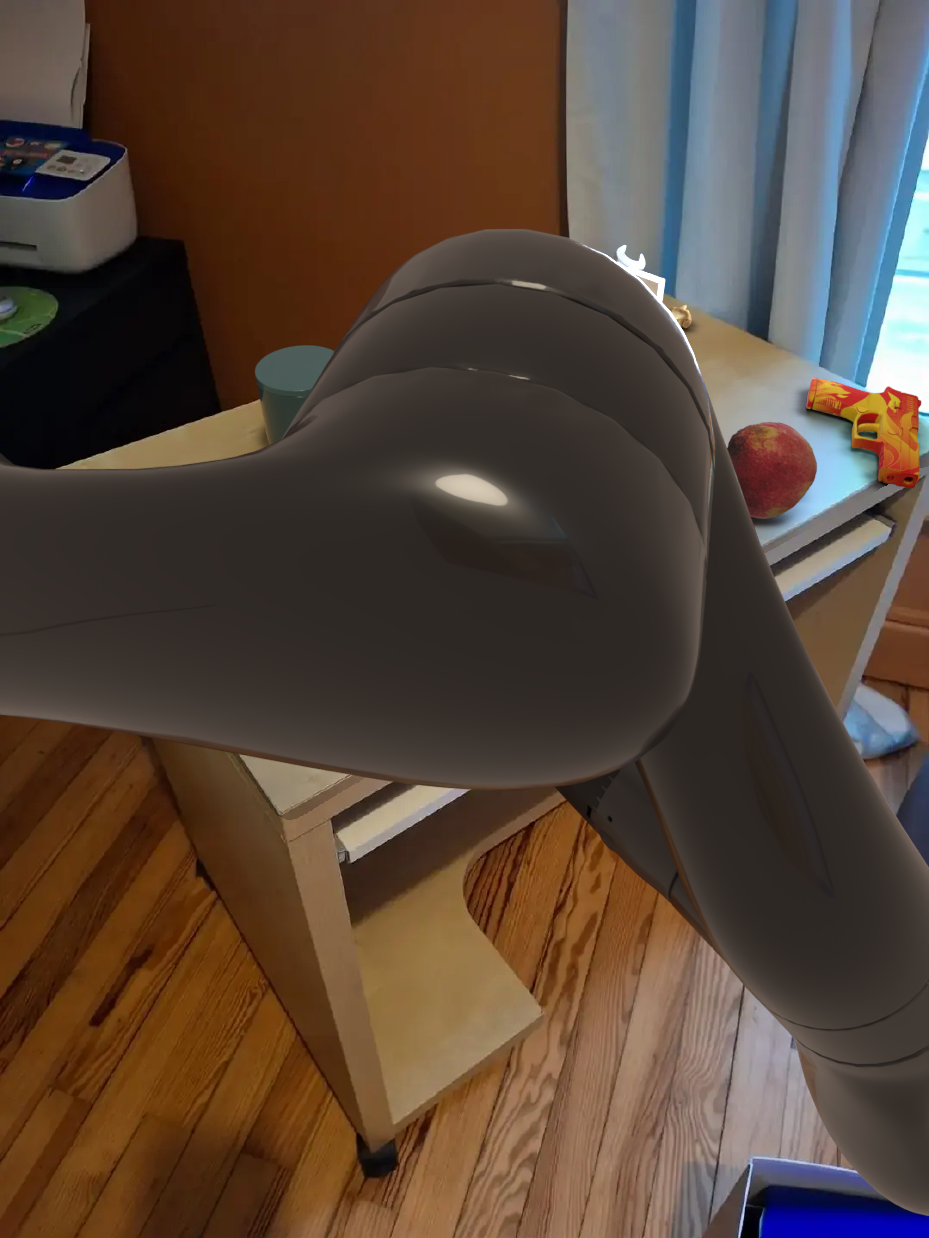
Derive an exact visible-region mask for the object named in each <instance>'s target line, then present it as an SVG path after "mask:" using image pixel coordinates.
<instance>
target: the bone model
mask: <svg viewBox="0 0 929 1238" xmlns="http://www.w3.org/2000/svg"><path fill="white" fill-rule="evenodd" d="M687 308H688V305H687V304H684V305H682V306H681V307H676V306H670V309H668V310H669V311H670V312H671V313H672V315H673V316H674V318H675V320H676V321H677V323H678V324H679V326H680V327H681V328H683V329H687V328H688V327H689V326H691V324H692V315H691V311H690V310H688V309H687Z"/></svg>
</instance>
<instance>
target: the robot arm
mask: <svg viewBox="0 0 929 1238" xmlns="http://www.w3.org/2000/svg"><path fill="white" fill-rule="evenodd" d="M669 310H670V309H669V308H667V306H666V305H665V304H664V303H663V301H662V302H661V301H660V300H659V299H658V298H657V297H656V296H655V295H654V294H653V292H652V291H651V290H650V289H649V288H648V287H647V286H646V285H645V284H644V283H643V282H642V280H640V279H639V278H638V277H636V276H635V275H634V274H632V273H631V272H629V271H628V270H627V269H625V268H624V267H622V266H621V265H620V264H618V263H617V262H615V260H614V258H611V257H610V256H608V255H607V254H605V253H603V252H601V251H599V250H597V249H594V248H593V247H590V246H587V245H585V244H583V243H581V242H578V241H576V240H574V239H572V238H569V237H566V236H561V235H556V234H552V233H548V232H543V231H538V230H535V229H529V228H495V229H494V228H493V229H492V228H491V229H488V228H487V229H485V228H484V229H481V230H476V231H471V232H468V233H467V232H466V233H463V234H459V235H454V236H450V237H447V238H445V239H443V240H441V241H439V242H437V243H435V244H432V245H430V246H429V247H426V248H425V249H423V250H420V251H418V252H417V253H415V254H414V255H413V256H411V257H410V258H408V259H407V260H406V261H405V262H404V261H403V263H402V264H400V265H398V267H397V268H395V269H394V270H393V271H392V272H391V273H390V274H389V275H388V276H387V277H385V279H384V280H383V281H382V282H381V284H380V285H379V286H378V288H376V290H375V291H374V292H373V294H372V295H371V296H370V297H369V299H368V300H367V301H366V302H365V304H364V305H363V306H362V308H361V310H360V311H359V312H358V314H357V316H356V317H355V319H354V320H353V322H352V323H351V325H350V326H349V328H348V329H347V331H346V333H344V335H343V337H342V339H341V340H340V342H339V343H338V345H337V346H336V348H335V349H334V350H333V351H334V353H333V355H332V357H331V358H330V360H329V361H328V363H327V364H326V366H325V368H324V369H323V371H322V373H321V374H320V376H319V378H318V379H317V381H316V383H315V384H314V386H313V388H312V389H311V391H310V393H309V394H308V396H307V398H306V399H305V401H304V403H303V404H302V406H301V408H300V409H299V411H298V413H297V414H296V416H295V418H294V419H293V421H292V423H291V424H290V426H289V428H288V429H287V431H286V433H285V434H284V436H283V438H282V439H281V440H279V441H277V442H275V443H273V444H271V445H270V444H269V445H266V446H264V447H262V448H260V449H256V450H254V451H251V452H250V451H249V452H247V453H243V454H240V455H235V456H232V457H227V458H223V459H222V458H221V459H215V460H207V461H201V462H193V463H186V464H180V465H167V466H157V467H156V466H155V467H143V468H142V467H141V468H50V469H49V468H48V469H47V468H36V467H29V466H21V465H17V464H14V463H13V462H12V461H10V460H9V459H8V458H6V456H5V455H3V454H2V453H1V452H0V715H1V716H8V717H9V716H10V717H17V718H18V717H19V718H24V719H25V718H26V719H34V720H41V721H48V722H57V723H62V724H71V725H77V726H83V727H89V728H92V729H93V728H94V729H100V730H106V731H112V732H117V733H122V734H123V733H124V734H128V735H133V736H138V737H139V736H140V737H146V738H151V739H156V740H160V741H161V740H162V741H167V742H173V743H178V744H181V745H182V744H183V745H188V746H192V747H199V748H205V749H209V750H215V751H220V752H225V753H230V754H235V755H239V756H240V755H241V756H247V757H251V758H258V759H262V760H269V761H272V762H278V763H283V764H288V765H292V766H293V765H294V766H299V767H304V768H308V769H314V770H315V769H316V770H320V771H325V772H326V771H327V772H333V773H338V774H343V775H349V776H356V777H360V778H361V777H362V778H366V779H373V780H379V781H383V782H384V781H385V782H391V783H392V782H393V783H400V784H407V785H415V786H422V787H433V788H443V789H454V790H455V789H457V790H468V791H469V790H470V791H484V792H485V791H487V792H490V791H491V792H494V791H495V792H500V791H501V792H509V791H510V792H518V791H519V792H520V791H528V790H536V789H537V790H538V789H547V788H554V789H556V790H557V792H558V793H559V794H560V795H561V796H562V797H563V798H564V799H565V801H567V802H568V803H569V805H570V806H571V807H572V808H573V809H574V810H575V811H576V812H577V813H578V814H579V816H581V818H583V819H584V820H585V822H586V823H587V824H588V825H589V826H590V827H591V828H592V829H593V830H594V831H595V832H596V834H598V836H599V837H600V839H601V841H602V843H604V845H605V846H606V848H608V849H609V850H610V851H611V852H613V853H615V854H616V855H617V856H618V857H619V858H620V859H621V860H622V861H623V862H624V864H626V866H627V867H628V868H630V870H632V871H633V872H634V873H635V875H637V876H638V877H639V878H640V879H641V880H643V881H644V882H645V883H646V884H647V885H649V886H650V887H651V888H653V889H654V890H655V891H656V892H657V893H658V894H660V895H661V896H662V897H663V898H664V899H665V900H666V901H667V902H668V903H670V904H671V906H672V907H673V908H674V909H675V910H676V911H677V912H678V914H679V915H680V916H681V917H682V918H683V919H684V920H685V921H686V922H687V923H688V924H689V925H690V926H691V928H693V930H695V932H696V933H697V934H698V935H699V936H700V937H701V938H702V939H703V940H704V941H705V942H706V943H707V944H708V945H709V947H710V948H712V950H713V951H714V952H715V953H716V954H717V955H718V956H719V957H720V958H721V959H722V960H723V961H724V962H725V963H726V965H727V966H728V968H730V970H731V971H732V973H733V974H734V975H735V976H736V978H737V979H738V980H739V981H740V982H741V983H742V985H743V986H744V987H745V988H746V989H747V990H748V992H750V994H751V995H752V996H753V997H754V998H755V999H756V1000H757V1001H758V1002H759V1003H760V1004H761V1005H762V1006H763V1007H764V1008H765V1009H766V1010H767V1011H768V1012H769V1013H770V1014H771V1016H773V1017H774V1019H775V1020H776V1021H777V1022H778V1023H779V1024H780V1025H781V1026H782V1027H783V1028H784V1029H785V1030H786V1031H787V1033H788V1034H789V1035H790V1036H791V1037H792V1038H793V1040H794V1044H795V1047H796V1051H797V1054H798V1055H797V1056H798V1059H799V1063H800V1067H801V1071H802V1074H803V1077H804V1080H805V1084H806V1087H807V1089H808V1091H809V1094H810V1097H811V1100H812V1102H813V1104H814V1106H815V1108H816V1111H817V1113H818V1116H819V1117H820V1120H821V1122H822V1124H823V1126H824V1127H825V1129H826V1131H827V1133H828V1134H829V1136H830V1138H831V1139H832V1141H833V1142H834V1144H835V1145H836V1147H837V1148H838V1150H839V1151H840V1153H841V1154H842V1156H843V1157H844V1158H845V1159H846V1161H847V1162H848V1163H849V1165H850V1166H851V1167H852V1168H853V1169H854V1171H855V1172H856V1173H857V1174H858V1175H859V1176H860V1177H861V1178H862V1179H863V1180H864V1181H865V1183H867V1184H868V1185H869V1186H870V1187H871V1188H872V1189H874V1190H875V1192H877V1193H878V1194H880V1195H881V1196H882V1197H884V1198H885V1199H887V1200H888V1201H890V1202H891V1203H893V1204H894V1205H896V1206H899V1207H900V1208H902V1209H904V1210H907V1211H909V1212H912V1213H914V1214H919V1215H923V1216H927V1217H929V865H928V864H927V862H926V860H925V859H924V858H923V856H922V854H921V852H920V851H919V850H918V849H917V847H916V845H915V844H914V842H913V841H912V839H911V838H910V836H909V834H908V833H907V831H906V830H905V828H904V827H903V825H902V823H901V822H900V820H899V818H898V817H897V815H896V814H895V812H894V810H893V809H892V807H891V805H890V804H889V802H888V800H887V799H886V797H885V795H884V794H883V792H882V791H881V789H880V787H879V785H878V783H877V782H876V781H875V779H874V777H873V775H872V774H871V771H870V770H869V768H868V767H867V764H866V763H865V761H864V759H863V757H862V755H861V753H860V751H859V750H858V748H857V745H856V744H855V742H854V740H853V739H852V736H851V735H850V733H849V731H848V728H846V725H845V723H844V721H843V720H842V718H841V716H840V714H839V712H838V710H837V708H836V706H835V705H834V702H833V701H832V698H831V697H830V694H829V692H828V690H827V688H826V686H825V685H824V682H823V680H822V678H821V676H820V674H819V672H818V671H817V668H816V666H815V664H814V662H813V659H812V658H811V655H810V654H809V651H808V649H807V647H806V645H805V643H804V641H803V638H802V636H801V634H800V632H799V630H798V628H797V626H796V623H795V621H794V620H793V616H792V614H791V612H790V610H789V608H788V606H787V603H786V601H785V598H784V597H783V593H782V591H781V589H780V587H779V584H778V583H777V580H776V577H775V575H774V573H773V571H772V567H771V565H770V563H769V561H768V558H767V556H766V554H765V551H764V549H763V546H762V544H761V542H760V539H759V536H758V533H757V530H756V527H755V525H754V522H753V518H752V517H751V516H750V513H749V510H748V508H747V505H746V502H745V499H744V496H743V493H742V490H741V487H740V485H739V482H738V479H737V476H736V473H735V470H734V467H733V464H732V461H731V458H730V455H729V452H728V450H727V447H728V446H727V444H726V441H725V437H724V435H723V432H722V430H721V427H720V423H719V421H718V418H717V415H716V412H715V409H714V406H713V403H712V400H711V398H710V394H709V392H708V389H707V385H706V383H705V380H704V377H703V374H702V371H701V368H700V365H699V363H698V360H697V358H696V355H695V352H694V350H693V348H692V346H691V345H690V343H689V340H688V338H687V336H686V334H685V331H684V330H683V329H682V326H679V324H678V323H677V321H676V320H675V318H674V316H673V315H672V313H671V312H670V311H669Z"/></svg>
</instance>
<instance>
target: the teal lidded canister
mask: <svg viewBox="0 0 929 1238" xmlns="http://www.w3.org/2000/svg"><path fill="white" fill-rule="evenodd" d="M334 351H335V350H333V349H331V348H328V347H326V346H325V347H324V346H320V345H310V344H309V345H306V344H304V345H302V344H301V345H293V346H288V347H284V348H280V349H278V350H275V351H272V352H270V353H268V354H267V355H265V356H264V357H263V358H261V359H260V360H258V363H257V364H256V366H255V368H254V369H255V370H254V376H255V382H256V386H257V391H258V398H259V402H260V408H261V412H262V418H263V423H264V428H265V434H266V439H267V442H268V444H269V445H271V444H273V443H275V442H277V441H279V440H281V439H282V438H283V436H284V434H285V433H286V431H287V429H288V428H289V426H290V424H291V423H292V421H293V419H294V418H295V416H296V414H297V413H298V411H299V409H300V408H301V406H302V404H303V403H304V401H305V399H306V398H307V396H308V394H309V393H310V391H311V389H312V388H313V386H314V384H315V383H316V381H317V379H318V378H319V376H320V374H321V373H322V371H323V369H324V368H325V366H326V364H327V363H328V361H329V360H330V358H331V357H332V355H333V353H334Z"/></svg>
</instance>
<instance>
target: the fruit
mask: <svg viewBox="0 0 929 1238" xmlns="http://www.w3.org/2000/svg"><path fill="white" fill-rule="evenodd" d="M726 447H727V450H728V452H729V455H730V458H731V461H732V464H733V467H734V470H735V473H736V476H737V479H738V482H739V485H740V487H741V490H742V493H743V496H744V499H745V502H746V505H747V508H748V510H749V513H750V516H751V518H755V519H765V520H766V519H774V518H776V517H779V516H782V515H784V514H785V513H787V512H788V511H790V510H792V509H793V508H794V507H796V506H797V505H798V503H800V501H801V500H802V499H803V498H804V496H805V495H806V494H807V492H808V491H809V489H810V488H811V487H812V486H813V484H814V482H815V479H816V476H817V472H818V462H817V459H816V456H815V452H814V449H813V447H812V446H811V444H810V442H808V440H807V439H806V438H805V437H804V436H803V435H802V434H801V433H800V432H799V431H798V430H796V429H795V428H794V427H793V426H790V425H788V424H786V423H783V422H775V421H774V422H773V421H766V422H760V423H755V424H749V425H746V426H745V427H743V428H740V429H739V430H737V431H736V432H735V433H734V434H732V436H731V437H730V439H729V441H728V444H727V446H726Z"/></svg>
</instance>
